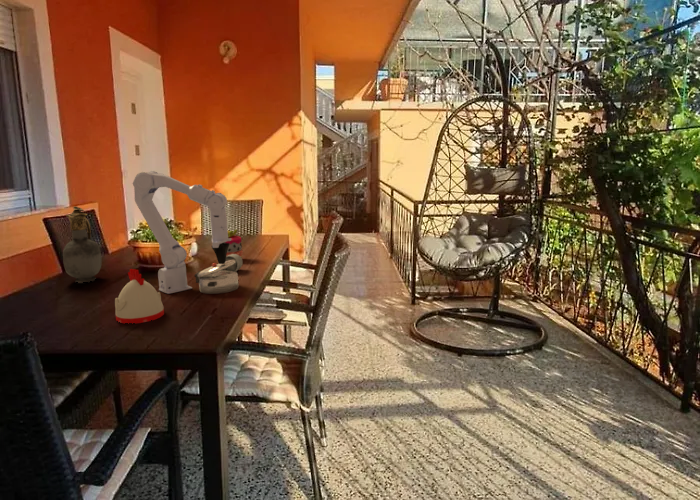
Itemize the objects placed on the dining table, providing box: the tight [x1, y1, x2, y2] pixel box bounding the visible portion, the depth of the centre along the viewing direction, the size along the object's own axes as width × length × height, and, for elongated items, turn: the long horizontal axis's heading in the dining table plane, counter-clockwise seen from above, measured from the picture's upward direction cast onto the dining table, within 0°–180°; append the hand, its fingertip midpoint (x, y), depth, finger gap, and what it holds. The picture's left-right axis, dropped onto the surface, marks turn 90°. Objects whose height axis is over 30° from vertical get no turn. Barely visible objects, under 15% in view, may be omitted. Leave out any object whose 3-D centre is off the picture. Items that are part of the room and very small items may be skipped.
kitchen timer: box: [114, 268, 165, 325], centre depth 149 cm, size 14×14×15 cm
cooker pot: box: [195, 270, 239, 295], centre depth 179 cm, size 15×20×5 cm
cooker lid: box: [194, 260, 236, 278], centre depth 178 cm, size 15×15×2 cm
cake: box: [225, 228, 244, 259], centre depth 225 cm, size 10×11×15 cm
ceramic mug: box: [221, 254, 244, 273], centre depth 205 cm, size 11×8×8 cm
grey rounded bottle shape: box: [62, 206, 102, 284], centre depth 193 cm, size 11×19×30 cm, turn 10°
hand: (222, 263), depth 178 cm, fingers closed
